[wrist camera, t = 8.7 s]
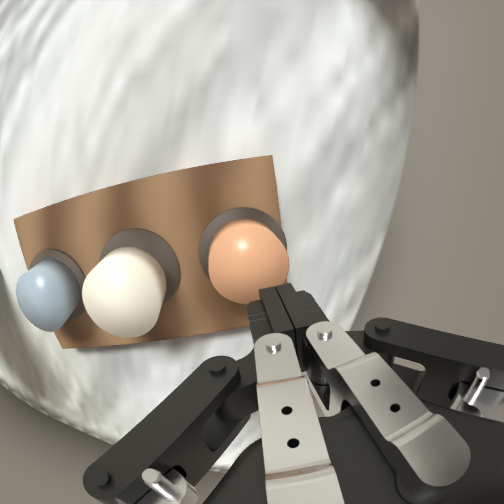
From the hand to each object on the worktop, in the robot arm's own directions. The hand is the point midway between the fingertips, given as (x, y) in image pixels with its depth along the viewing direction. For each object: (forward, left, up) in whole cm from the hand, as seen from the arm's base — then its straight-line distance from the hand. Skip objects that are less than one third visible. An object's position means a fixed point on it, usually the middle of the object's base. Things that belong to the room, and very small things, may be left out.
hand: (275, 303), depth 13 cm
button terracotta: (+1, 0, -8) cm, 8 cm away
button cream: (+9, 0, -6) cm, 10 cm away
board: (+9, 0, -10) cm, 13 cm away
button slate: (+17, 0, -8) cm, 18 cm away
